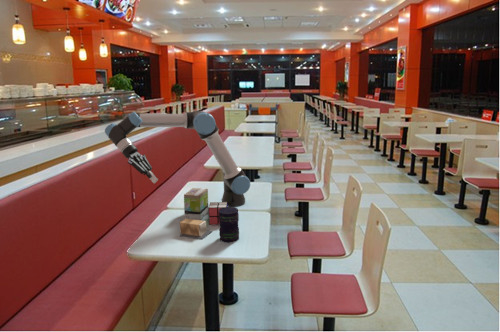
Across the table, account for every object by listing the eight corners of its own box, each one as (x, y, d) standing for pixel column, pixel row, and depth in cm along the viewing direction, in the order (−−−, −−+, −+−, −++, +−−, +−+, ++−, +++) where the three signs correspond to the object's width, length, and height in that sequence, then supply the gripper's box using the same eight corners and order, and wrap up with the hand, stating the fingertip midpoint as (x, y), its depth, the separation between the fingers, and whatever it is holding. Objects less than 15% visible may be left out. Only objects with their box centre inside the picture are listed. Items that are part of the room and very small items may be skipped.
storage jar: (215, 239, 197) (214, 210, 194) (229, 233, 204) (228, 205, 201) (229, 244, 191) (228, 215, 187) (243, 238, 198) (242, 209, 195)
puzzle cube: (227, 224, 216) (226, 207, 214) (209, 225, 216) (208, 207, 214) (228, 218, 226) (227, 201, 224) (210, 218, 226) (209, 202, 224)
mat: (179, 236, 202) (179, 235, 202) (190, 228, 212) (190, 227, 212) (202, 239, 197) (202, 238, 197) (212, 231, 207) (212, 230, 207)
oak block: (179, 222, 203) (200, 225, 199) (185, 218, 209) (206, 221, 204) (180, 233, 204) (201, 236, 200) (186, 229, 210) (206, 232, 205)
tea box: (201, 220, 224) (199, 195, 220) (184, 219, 226) (182, 194, 222) (209, 211, 238) (207, 188, 235) (193, 210, 240) (191, 187, 237)
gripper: (131, 150, 217) (159, 182, 215) (115, 155, 205) (144, 189, 203) (139, 141, 214) (167, 174, 212) (123, 145, 202) (152, 180, 200)
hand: (156, 181), depth 208 cm, fingers closed
